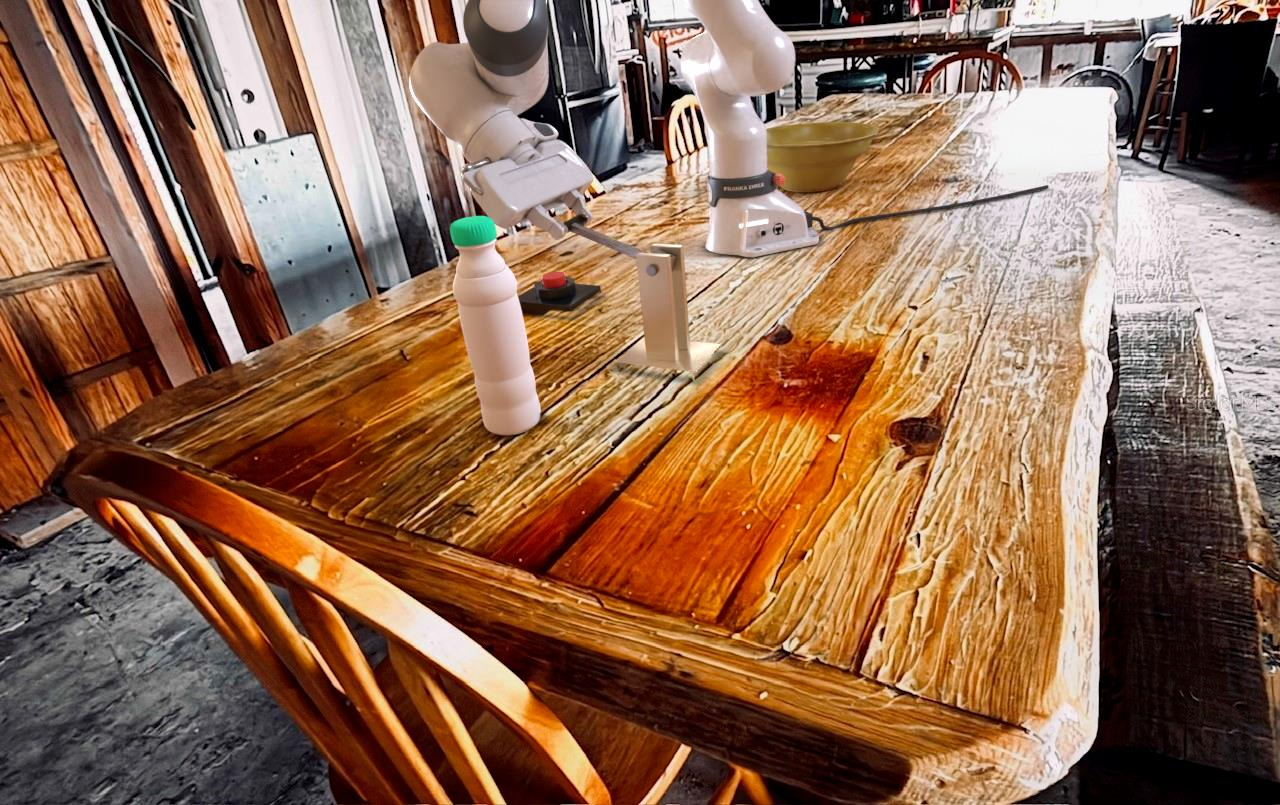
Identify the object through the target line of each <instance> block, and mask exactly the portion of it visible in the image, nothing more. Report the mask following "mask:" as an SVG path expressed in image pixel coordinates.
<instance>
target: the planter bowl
mask: <svg viewBox="0 0 1280 805" xmlns="http://www.w3.org/2000/svg"><path fill="white" fill-rule="evenodd" d="M766 130H767V169H768V170H770V171H772V172H774V173H776V174H777V173H779V174H781V175H783V177H785V178H784V179H786V180H784V181H785V182H784V184H783V185H781V186H780V187H781V188H782V189H783V190H785V191H788V192H793V193H794V192H795V193H816V192H825V191H828V190H832V189H835V188H837V187H838V186H840V184H842V183H843V182H845V180H846V179H847V178H848V176H849V174H850V173H851V171H852V169H853V168H854V166H855V164H856V162H857V159H859V158H860V157H861V156H862V155H863V154H865V153H866V152H867V151H868V150H869V148H870V146H871V144H872V142H873V140H874V137H875V135H877V134H878V133H879V132H880V128H879V127H877V126H876V125H873V124H869V123H863V122H862V123H861V122H850V121H822V122H821V121H819V122H805V123H794V124H785V125H779V126H773V127H767V128H766Z"/></svg>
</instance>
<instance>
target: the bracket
mask: <svg viewBox="0 0 1280 805" xmlns="http://www.w3.org/2000/svg"><path fill="white" fill-rule="evenodd" d="M656 249H659V250H661V251H663V252H666V253H668V254H652V252H654V251H655V250H656ZM684 249H685V248H684V245H683V244H668V243H667V244H665V243H652V244H651V245H649V250H650V252H648V253H639V254H637V255H636V269H637V278H638V288H639V298H640V307H641V317H642V328H643V336H642V337H641V338H640V339H639V340H638V341H637V342H636V343H635V344H634V345H632V346H631V348H629V349H628V350H627V351H625V353H623V354H622V355H621V356H620V357H619V358H618V359H617V360H615V363H620V364H627V365H628V364H629V365H638V366H645V367H652V368H659V369H667V370H675V371H682V372H689V373H697V372H698V371H699V370H700V369H701V368H702V367H703V365H704V364H706V362H707V361H708V360H709V359H710V358H711V357H712V356H713V355H714V353H716V351H717V350H718V349H719V348H720V346H721V345H722V344H720V343H711V342H703V341H702V342H701V341H692V340H691V337H690V336H691V335H690V324H689V323H690V322H689V308H688V296H687V295H688V294H687V293H688V292H687V278H686V266H685V251H684ZM670 254H671V255H673V256H676V259H675V263H674V267H673V271H672V268H671V255H670Z"/></svg>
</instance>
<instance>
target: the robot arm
mask: <svg viewBox="0 0 1280 805" xmlns="http://www.w3.org/2000/svg"><path fill="white" fill-rule="evenodd" d="M682 1H683V4H684V6H685V7H686V9H687V10H688V12H690V13H691V14H692V15H693V16H694V17H696V18H697V20H698V21H699V22H700V23H701V25H702V26H703V27H704V29H705V31H704V32H703V33H701V34H698V35H696V36H695V37H692V38H691V39H690V40H689V41H688V42H687V43H686V44H685V46H684V47H683V50H682V53H681V55H680V72H681V75H682V78H683V80H684V81H685V83H686V84H687V85H688V86H689V88H690V89H691V90H692V92H693V94H694V96H695V98H696V101H697V104H698V107H699V109H700V113H701V116H702V119H703V123H704V126H705V131H706V140H707V151H708V167H709V174H708V175H707V183H706V186H707V201H708V203H709V212H708V213H709V220H708V221H709V222H708V230H707V236H706V241H705V244H704V247H705V249H706V250H707V251H709V252H711V253H714V254H720V255H728V256H740V257H743V258H744V257H745V258H757V257H762V256H766V255H767V256H768V255H772V254H776V253H781V252H785V251H790V250H795V249H800V248H805V247H810V246H815V245H817V244H819V243H820V236H819V233H818V232H817V231H816V230H815V229H813V224H814V223H813V221H814V222H815V221H816V222H817V223H818V224H819V226H820V228H821V229H822V230H824V231H830V230H834V229H839V228H843V227H846V226H848V225H851V224H854V223H859V222H865V221H873V220H879V219H886V218H894V217H901V216H908V215H909V216H910V215H915V214H922V213H928V212H934V211H935V212H936V211H942V210H947V209H954V208H960V207H966V206H973V205H976V204H982V203H988V202H992V201H993V202H994V201H998V200H1003V199H1007V198H1011V197H1016V196H1021V195H1026V194H1030V193H1034V192H1039V191H1043V190H1044V191H1045V190H1047V189H1049V188H1050V186H1049V185H1048V184H1046V185H1042V186H1037V187H1034V188H1033V187H1032V188H1028V189H1024V190H1020V191H1019V190H1018V191H1015V192H1010V193H1005V194H1000V195H995V196H991V197H990V196H989V197H985V198H984V197H983V198H980V199H974V200H968V201H963V202H957V203H951V204H945V205H938V206H932V207H931V206H930V207H926V208H925V207H924V208H919V209H912V210H911V209H910V210H904V211H898V212H897V211H896V212H890V213H884V214H876V215H869V216H868V215H867V216H862V217H855V218H851V219H849V220H846V221H844V222H842V223H839V224H837V225H834V226H827V225H825V224H824V220H823V219H822V218H820V217H819V216H814V214H813V213H811V212H809V211H807V210H804V209H803V207H802V206H801V205H799V204H798V203H797V202H796V201H794V200H793V199H792V198H791V197H789V196H788V195H787V194H785V193H783V192H782V191H780V190H779V189H777V187H781V185H783V184H784V182H785V181H784V180H786V179H784V178H785V177H783V175H781V174H779V173H777V174H776V173H774V172H772V171H770V170H768V168H767V130H766V129H767V127H766V125H765V123H764V122H763V120H762V119H761V118H760V117H759V116H758V114H757V112H756V111H755V108H754V105H753V103H752V99H751V97H760V96H764V95H768V94H771V93H775V92H777V91H779V90H781V89H783V88H784V87H785V86H786V85H787V84H788V83H789V81H790V80H791V78H792V76H793V73H794V71H795V66H796V50H795V46H794V44H793V41H792V39H791V37H789V35H788V34H787V33H786V32H785V31H783V30H781V29H780V28H779V27H778V26H777V25H776V24H775V23H774V22H773V21H772V20H771V18H770V17H769V15H768V14H767V13H766V12H767V11H765V10H764V8H763V6H762V4H761V3H760V1H759V0H682ZM548 12H549V11H548V0H467V2H466V5H465V8H464V11H463V18H462V24H463V26H462V27H463V31H464V34H465V37H466V40H467V42H462V43H444V42H439V41H434V42H431V43H428V44H427V45H426V46H425V47H423V48H422V49H421V51H420V52H418V54H417V55H416V57H415V59H414V61H413V63H412V66H411V69H410V71H409V78H408V79H409V82H408V83H409V89H410V92H411V95H412V97H413V99H414V101H415V102H416V104H417V105H418V107H419V108H420V109H421V111H422V112H423V113H424V114H425V116H426V117H427V118H428V119H429V120H430V121H431V123H433V125H434V126H435V127H436V128H437V130H438V131H440V133H442V135H444V136H445V137H446V139H449V140H450V141H452V142H453V143H455V144H456V146H457V147H458V148H459V150H460V152H461V154H462V156H463V157H464V158H465V159H466V160H467V161H468V163H465V164H463V166H462V170H461V171H460V172H461V180H462V181H463V183H464V184H465V185H466V186H467V187H468V188H469V189H470V193H471V195H472V197H473V198H474V200H475V202H476V203H477V204H478V205H479V207H480V208H481V209H482V211H483V212H484V213H485V214H486V217H489V218H491V219H492V220H493V222H494V224H495V226H498V227H499V228H502V229H504V230H507V229H509V228H512V227H514V226H517V225H518V224H521V223H523V222H526V221H529V222H530V224H532V225H533V226H534V227H537V228H539V229H540V230H543V231H545V232H547V233H548V234H549V235H550V236H551V237H552V238H553V240H556V241H559V240H560V239H562V238H564V237H565V236H566V235H567V234H568V233H569V232H568V227H567V226H565V225H564V221H562V220H561V219H558V220H557V219H554V218H553V217H552V216H550V215H549V214H547V212H548V211H550V210H552V209H555V208H557V207H558V206H561V205H565V206H566V207H567V208H569V209H572V211H573V213H574V215H575V216H581V217H582V218H583V225H582V226H585V227H587V226H588V225H589V224H591V222H592V221H593V220H594V215H593V213H592V212H590V210H589V209H588V208H587V206H586V203H585V200H584V198H583V197H584V196H583V195H584V194H585V193H586V191H587V190H588V189H589V188H590V186H591V185H592V183H593V181H594V177H593V173H592V170H591V169H590V168H589V167H588V166H587V164H586V163H585V162H584V161H583V159H581V157H580V156H579V155H578V154H577V153H576V152H575V151H574V150H573V149H572V147H570V146H569V145H568V144H567V143H566V142H564V141H563V140H560V139H557V138H558V136H559V132H558V130H557V129H556V128H555V127H554V126H552V125H551V124H549V123H542V122H535V121H532V120H528V119H526V118H522V117H521V118H520V117H518V116H520V115H521V114H523V113H524V112H526V111H528V110H530V109H531V108H533V107H534V106H535V105H537V104H538V103H539V102H540V101H541V99H543V97H544V96H545V94H546V92H547V89H548V86H549V78H550V73H549V72H550V69H549V53H548V50H549V49H548V35H549V14H548ZM567 232H568V233H567ZM566 233H567V234H566Z"/></svg>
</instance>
